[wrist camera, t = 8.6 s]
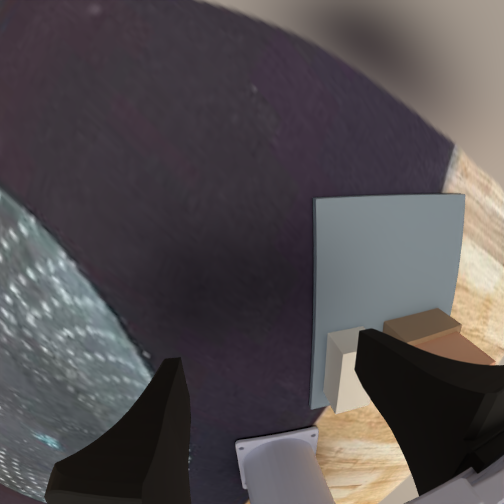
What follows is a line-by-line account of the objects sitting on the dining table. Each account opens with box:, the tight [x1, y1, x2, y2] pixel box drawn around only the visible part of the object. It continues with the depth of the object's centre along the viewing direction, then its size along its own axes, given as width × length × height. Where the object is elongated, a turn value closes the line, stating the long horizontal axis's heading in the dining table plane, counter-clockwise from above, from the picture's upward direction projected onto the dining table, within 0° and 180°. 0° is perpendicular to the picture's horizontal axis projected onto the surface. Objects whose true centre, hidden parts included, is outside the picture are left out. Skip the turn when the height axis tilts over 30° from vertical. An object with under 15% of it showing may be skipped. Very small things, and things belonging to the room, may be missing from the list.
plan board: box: [309, 194, 465, 414], centre depth 22 cm, size 18×14×4 cm
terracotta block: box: [414, 331, 496, 365], centre depth 19 cm, size 5×5×5 cm
